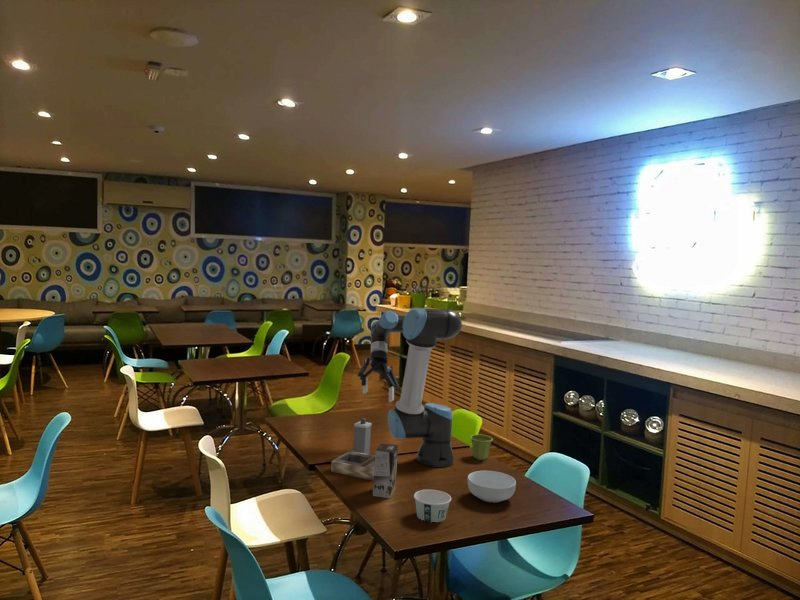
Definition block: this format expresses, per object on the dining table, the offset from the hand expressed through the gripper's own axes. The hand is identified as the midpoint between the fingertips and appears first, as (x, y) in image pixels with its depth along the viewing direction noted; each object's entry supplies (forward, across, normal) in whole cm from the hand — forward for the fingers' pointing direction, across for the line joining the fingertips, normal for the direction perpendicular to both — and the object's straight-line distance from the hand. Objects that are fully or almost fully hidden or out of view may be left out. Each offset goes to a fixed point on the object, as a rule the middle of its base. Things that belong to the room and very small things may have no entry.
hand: (378, 397), depth 252 cm
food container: (+59, +6, +39) cm, 71 cm away
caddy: (+33, +8, +1) cm, 34 cm away
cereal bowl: (+49, -20, +40) cm, 66 cm away
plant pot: (+21, -44, +14) cm, 50 cm away
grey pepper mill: (+24, +1, -10) cm, 26 cm away
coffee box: (+47, +10, +19) cm, 52 cm away
